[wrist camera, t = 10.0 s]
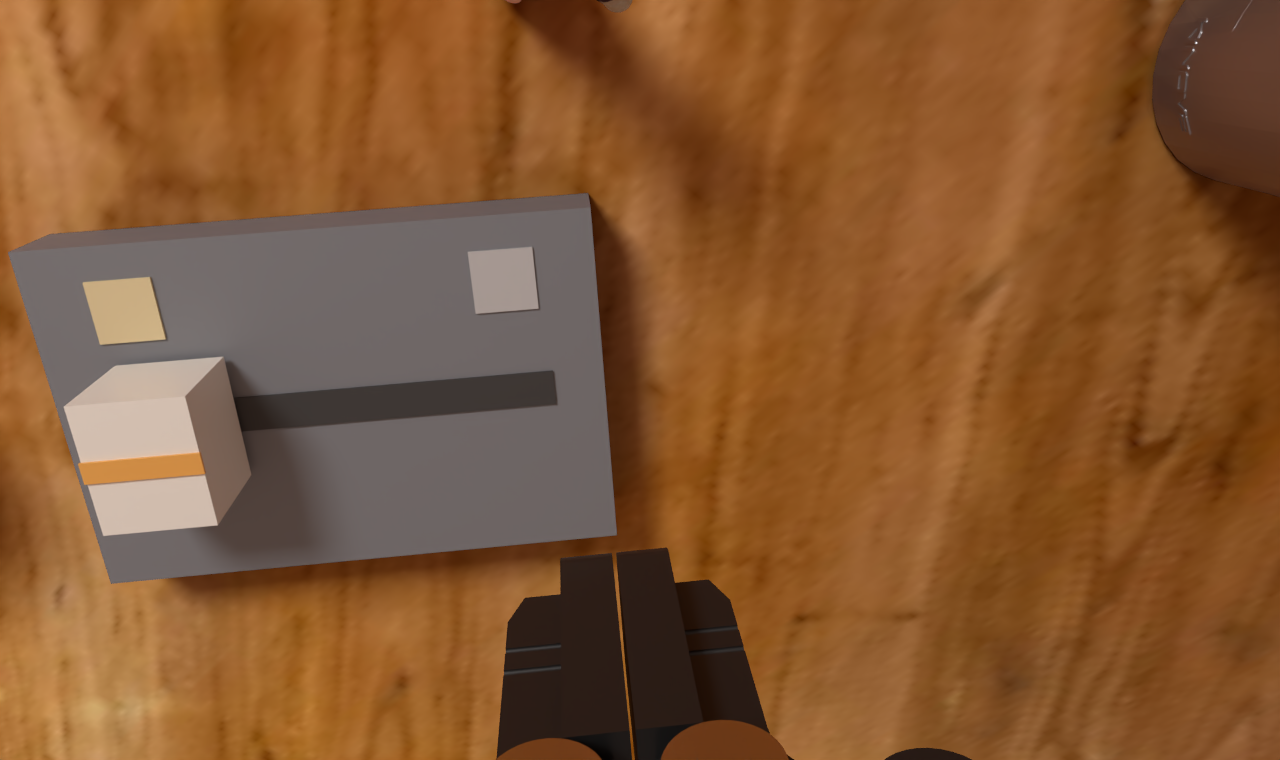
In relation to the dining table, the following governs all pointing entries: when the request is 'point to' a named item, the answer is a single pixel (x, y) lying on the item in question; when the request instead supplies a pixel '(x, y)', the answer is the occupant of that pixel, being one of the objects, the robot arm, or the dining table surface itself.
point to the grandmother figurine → (605, 4)
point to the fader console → (354, 374)
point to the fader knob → (160, 445)
